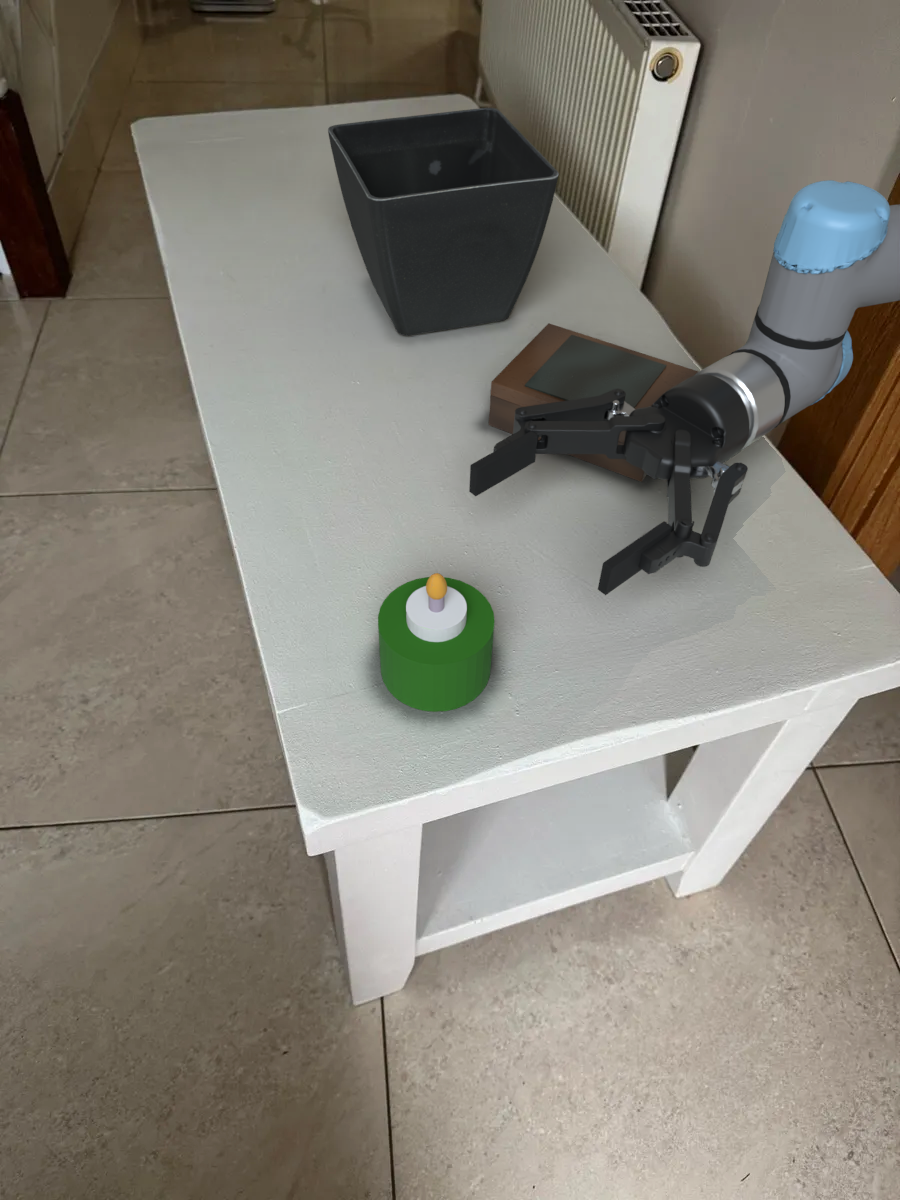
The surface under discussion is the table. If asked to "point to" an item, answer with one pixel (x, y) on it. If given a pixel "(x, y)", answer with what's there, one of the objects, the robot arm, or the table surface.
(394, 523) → the table surface
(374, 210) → the flower pot
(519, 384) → the small stand
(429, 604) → the candle
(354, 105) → the table surface
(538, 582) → the table surface
